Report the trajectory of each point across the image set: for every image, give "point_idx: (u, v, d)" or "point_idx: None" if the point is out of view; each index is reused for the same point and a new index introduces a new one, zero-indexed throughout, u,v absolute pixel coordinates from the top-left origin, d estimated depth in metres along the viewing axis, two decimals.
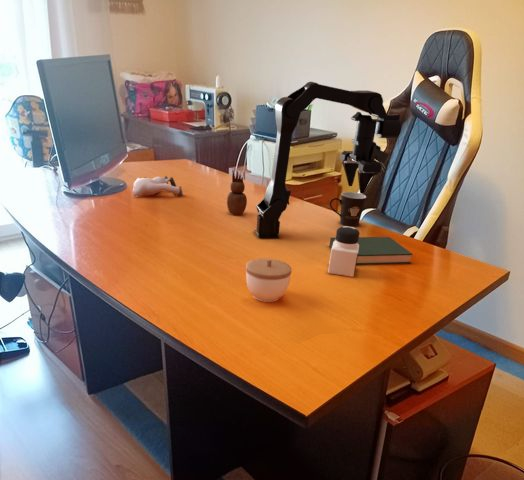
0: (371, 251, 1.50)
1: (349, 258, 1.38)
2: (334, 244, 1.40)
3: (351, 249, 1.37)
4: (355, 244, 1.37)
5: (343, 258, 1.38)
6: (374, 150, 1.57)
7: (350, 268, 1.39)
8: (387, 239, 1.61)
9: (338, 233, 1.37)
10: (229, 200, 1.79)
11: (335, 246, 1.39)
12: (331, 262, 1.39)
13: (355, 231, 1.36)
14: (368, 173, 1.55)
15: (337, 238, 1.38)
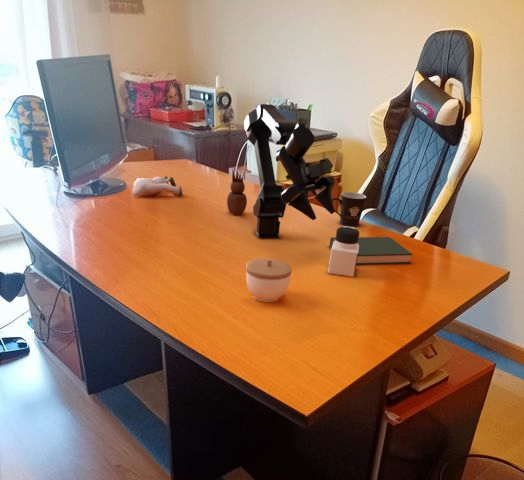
0: (371, 251, 1.50)
1: (349, 258, 1.38)
2: (334, 244, 1.40)
3: (351, 249, 1.37)
4: (355, 244, 1.37)
5: (343, 258, 1.38)
6: (302, 171, 1.37)
7: (350, 268, 1.39)
8: (387, 239, 1.61)
9: (338, 233, 1.37)
10: (229, 200, 1.79)
11: (335, 246, 1.39)
12: (331, 262, 1.39)
13: (355, 231, 1.36)
14: (293, 200, 1.36)
15: (337, 238, 1.38)
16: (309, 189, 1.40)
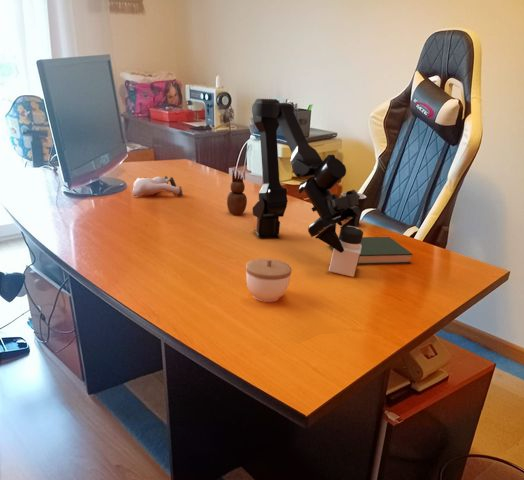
0: (371, 251, 1.50)
1: (351, 257, 1.37)
2: None
3: (354, 249, 1.37)
4: (358, 244, 1.37)
5: (345, 258, 1.38)
6: (329, 204, 1.35)
7: (351, 268, 1.39)
8: (387, 239, 1.61)
9: (342, 232, 1.36)
10: (229, 200, 1.79)
11: None
12: (333, 261, 1.39)
13: (359, 231, 1.36)
14: (320, 233, 1.34)
15: (340, 237, 1.37)
16: (335, 221, 1.39)
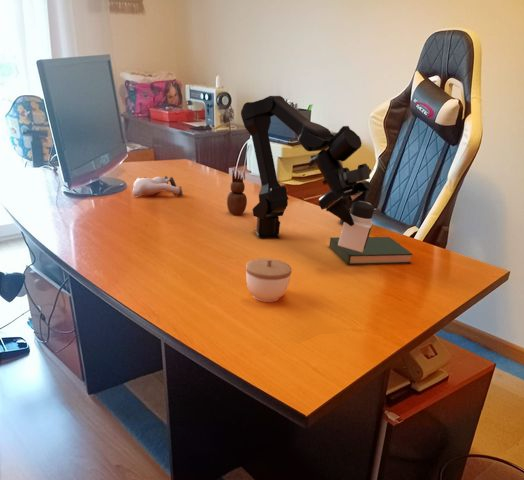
0: (371, 251, 1.50)
1: (361, 232, 1.37)
2: None
3: (364, 224, 1.37)
4: (368, 219, 1.37)
5: (354, 232, 1.38)
6: (340, 177, 1.35)
7: (360, 243, 1.39)
8: (387, 239, 1.61)
9: (353, 206, 1.37)
10: (229, 200, 1.79)
11: None
12: (342, 234, 1.39)
13: (370, 206, 1.36)
14: (331, 206, 1.34)
15: (351, 211, 1.37)
16: (346, 195, 1.39)
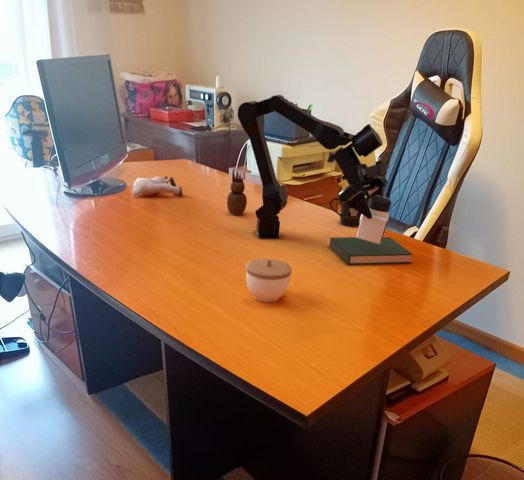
0: (371, 251, 1.50)
1: (378, 225, 1.45)
2: None
3: (381, 217, 1.44)
4: (386, 213, 1.45)
5: (372, 225, 1.45)
6: (359, 172, 1.43)
7: (378, 235, 1.46)
8: (387, 239, 1.61)
9: (371, 200, 1.44)
10: (229, 200, 1.79)
11: None
12: (360, 227, 1.46)
13: (387, 200, 1.43)
14: (351, 199, 1.42)
15: (369, 205, 1.45)
16: (364, 189, 1.46)
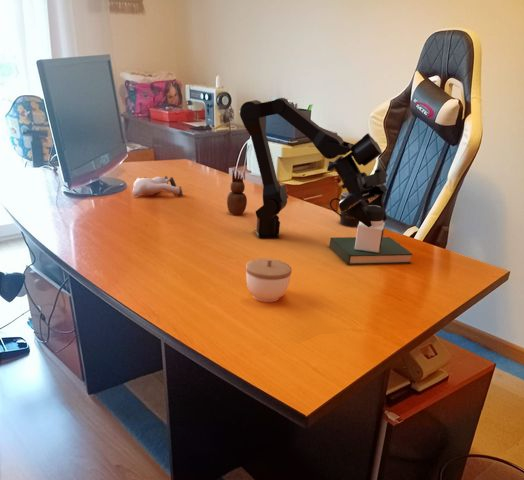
0: None
1: (374, 234, 1.46)
2: (361, 222, 1.49)
3: (376, 226, 1.46)
4: (380, 221, 1.46)
5: (369, 235, 1.47)
6: (358, 181, 1.44)
7: (375, 244, 1.48)
8: (387, 239, 1.61)
9: None
10: (229, 200, 1.79)
11: (361, 224, 1.48)
12: (357, 239, 1.48)
13: (380, 209, 1.45)
14: (350, 208, 1.43)
15: None
16: (364, 198, 1.48)
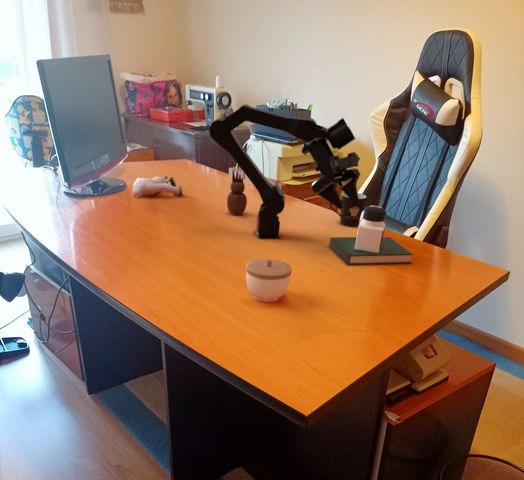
0: None
1: (375, 235, 1.47)
2: (361, 222, 1.49)
3: (377, 227, 1.46)
4: (381, 222, 1.46)
5: (369, 235, 1.47)
6: (331, 164, 1.48)
7: (376, 245, 1.48)
8: (387, 239, 1.61)
9: (365, 211, 1.46)
10: (229, 200, 1.79)
11: (362, 224, 1.48)
12: (358, 239, 1.48)
13: (381, 210, 1.45)
14: (322, 190, 1.46)
15: (364, 216, 1.47)
16: (337, 180, 1.51)
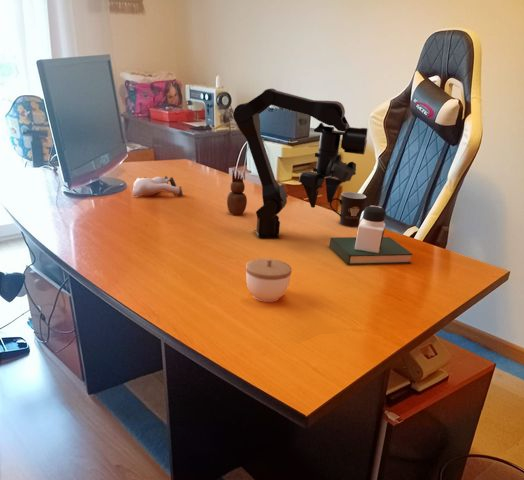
0: None
1: (375, 235, 1.47)
2: (361, 222, 1.49)
3: (377, 227, 1.46)
4: (381, 222, 1.46)
5: (369, 235, 1.47)
6: (329, 164, 1.46)
7: (376, 245, 1.48)
8: (387, 239, 1.61)
9: (365, 211, 1.46)
10: (229, 200, 1.79)
11: (362, 224, 1.48)
12: (358, 239, 1.48)
13: (381, 210, 1.45)
14: (307, 185, 1.47)
15: (364, 216, 1.47)
16: (325, 177, 1.51)
